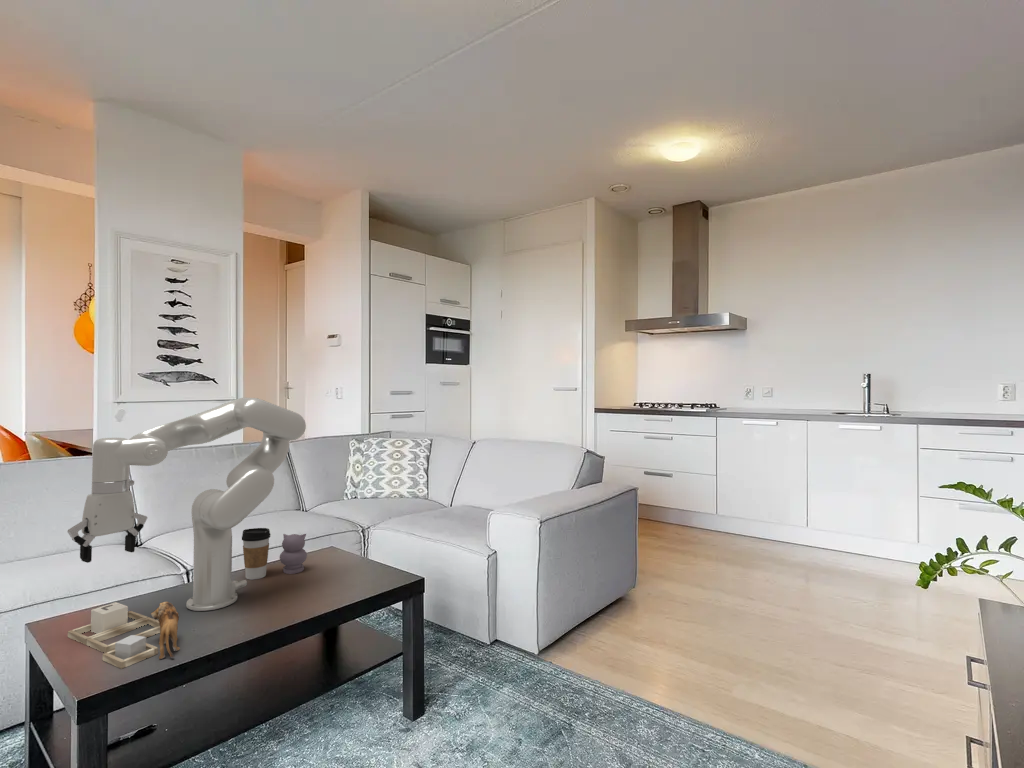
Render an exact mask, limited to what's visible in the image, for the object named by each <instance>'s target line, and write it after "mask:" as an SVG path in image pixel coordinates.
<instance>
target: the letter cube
mask: <svg viewBox="0 0 1024 768" xmlns="http://www.w3.org/2000/svg"><path fill="white" fill-rule="evenodd" d="M128 611H129V606H128V605H126V604H122V603H119V602H118V601H117V602H116V601H115V602H112V603H108V604H106V605H103V606H100V607H99V606H98V607H96V608H93V609H91V610H90V624H91V631H90V632H91V633H93V632H94V633H93V634H95V633H96V634H98V633H101V632H104V631H106V630H109V629H112V628H115V627H118V626H121V625H124V624H126V623H129V622H128V621H129V620H128V619H129V618H128Z"/></svg>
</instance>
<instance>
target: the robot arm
mask: <svg viewBox="0 0 1024 768" xmlns="http://www.w3.org/2000/svg"><path fill="white" fill-rule="evenodd" d="M306 424H307V423H306V421H305V419H304V417H303V416H302V415H301V414H299V413H297V412H296V411H293V410H290V409H287V408H284V407H282V406H280V405H277V404H274V403H272V402H269V401H266V400H263V399H261V398H258V397H257V398H256V397H240V398H237V399H234V400H231V401H228V402H225V403H224V404H220V405H218V406H215V407H212V408H210V409H207V410H204V411H201V412H198V413H197V414H193V415H190V416H186V417H184V418H181V419H177V420H174V421H171V422H168V423H165V424H162V425H160V426H159V425H158V426H155V427H154V428H153V427H152V428H151V429H148V430H145V431H143V432H139V433H138V434H135V435H133V436H131V437H130V438H129V439H128V438H125V437H103V438H98V439H96V440H95V441H94V442H93V445H92V465H91V466H92V467H91V471H92V473H91V493H90V494H88V495H87V496H86V499H85V503H84V508H83V512H82V520H81V521H80V522H78V523H77V524H75V525H74V526H71V527H70V528H68V530H67V534H68V535H69V536H70V538H71V540H72V541H73V542H75V543H76V544H77V545H79V546H80V547H79V559H80V560H81V561H82V562H84V563H87V564H88V563H91V562H92V557H93V556H92V552H93V546H92V545H90V544H91V543H92V542H93V540H95V538H96V537H102V536H107V535H112V534H118V533H122V532H124V533H126V534H125V537H124V538H125V539H124V551H125V552H128V553H134V552H135V548H136V546H137V537H138V535H139V533H140V532H141V531H142V529H143V528H144V525H145V524H146V521H147V520H148V516H147V515H144V514H140V513H137V512H135V504H134V498H133V494H132V490H130V487H131V486H134V485H135V480H134V479H132V480H131V479H130V466H141V467H143V466H144V467H149V466H150V467H151V466H156V465H158V464H161V463H162V462H163V461H165V460H166V458H167V457H168V454H169V451H172V450H175V449H178V448H179V449H180V448H182V447H186V446H194V445H203V444H207V443H211V442H214V441H216V440H218V439H221V438H222V437H225V436H227V435H230V434H233V433H234V432H237V431H240V430H242V429H244V428H251V429H254V430H257V431H260V432H262V438H261V442H260V444H259V445H258V446H257V447H256V448H255V449H254V450H253V451H252V452H251V453H250V454H248V456H247V457H245V458H244V459H243V460H242V461H241V462H239V463H237V465H236V466H235V467H233V469H231V470H230V472H229V473H228V474H227V476H226V480H225V481H226V482H225V483H226V485H227V489H226V490H225V491H224V490H221V489H214V488H211V489H207V490H204V491H202V492H200V493H199V494H198V495H197V496H196V497H195V499H194V500H193V503H192V505H191V522H192V528H193V567H192V568H193V573H192V576H193V577H192V578H193V579H192V581H193V583H192V584H193V586H192V597H190V598H189V599H187V601H186V606H185V607H186V608H187V609H188V610H190V611H195V612H205V611H207V612H208V611H214V610H218V609H222V608H225V607H227V606H230V605H232V604H234V603H235V602H236V601H237V600H238V593H237V592H236V591H238V589H242V588H244V587H246V586H247V584H248V582H247V579H246V578H245V579H243V580H239V581H237V580H235V579H234V580H232V577H233V576H232V575H233V574H232V573H233V572H232V571H233V570H232V568H233V567H232V566H233V563H232V562H233V531H232V530H233V529H232V528H234V527H236V526H237V525H239V524H240V523H241V522H242V521H244V519H246V518H247V517H248V516H250V514H251V513H252V512H253V511H255V509H256V508H257V507H258V506H260V505H261V504H262V502H264V501H265V500H266V499H267V498H268V497H269V496H270V494H271V493H272V491H273V489H274V485H275V477H274V474H273V473H274V472H275V471H276V470H277V469H278V468H279V467H280V466H281V465H282V464H283V463H284V461H285V460H286V459H287V456H288V453H289V449H290V442H291V441H296V440H298V439H299V438H301V437H302V436H303V435H304V434H305V432H306V429H307V425H306ZM135 519H137V523H136V524H135ZM79 531H81V533H82V534H83V535H82V536H81V535H80V534H79Z"/></svg>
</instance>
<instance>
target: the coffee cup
mask: <svg viewBox="0 0 1024 768" xmlns="http://www.w3.org/2000/svg"><path fill="white" fill-rule="evenodd" d="M271 535H272V534H271V531H270V529H269V528H266V527H257V528H256V527H255V528H254V527H253V528H246V529H243V531H242V535H241V541H243V542H242V544H243V545H242V552H243V562H244V571H245V572H244V573H245V580H259V579H263V578H264V577H266V575H267V569H268V568H267V567H268V565H267V564H268V560H269V550H270V549H269V548H270V538H271Z"/></svg>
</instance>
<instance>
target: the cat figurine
mask: <svg viewBox="0 0 1024 768" xmlns="http://www.w3.org/2000/svg"><path fill="white" fill-rule="evenodd" d="M306 536H307V533H304V534H303V533H302V534H297V533H293V534H285V533H283V540H282V543H281V547H282V549H283V550H282V551H281V553H280V555H279V561H280V563H281V564H282V565H284V566H283V569H282V570H283V573H284V574H287V575H289V574H290V575H292V574H298V573H302V572H303V571H304V570H305V565H304V563H305V561H306V560H307V557H308V553H307V552H306V550H305V549H304V547H305V545H306Z"/></svg>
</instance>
